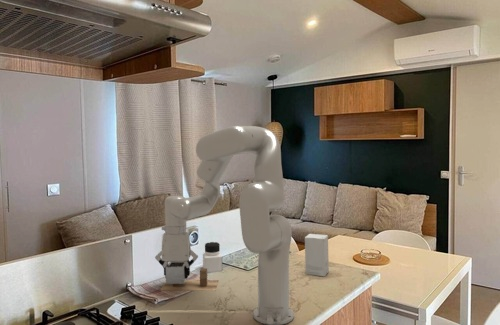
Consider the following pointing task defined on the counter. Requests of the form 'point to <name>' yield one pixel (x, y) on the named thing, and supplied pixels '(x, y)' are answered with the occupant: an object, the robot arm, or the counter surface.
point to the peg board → (193, 284)
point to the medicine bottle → (212, 257)
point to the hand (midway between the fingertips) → (177, 276)
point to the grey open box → (175, 273)
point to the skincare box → (316, 254)
